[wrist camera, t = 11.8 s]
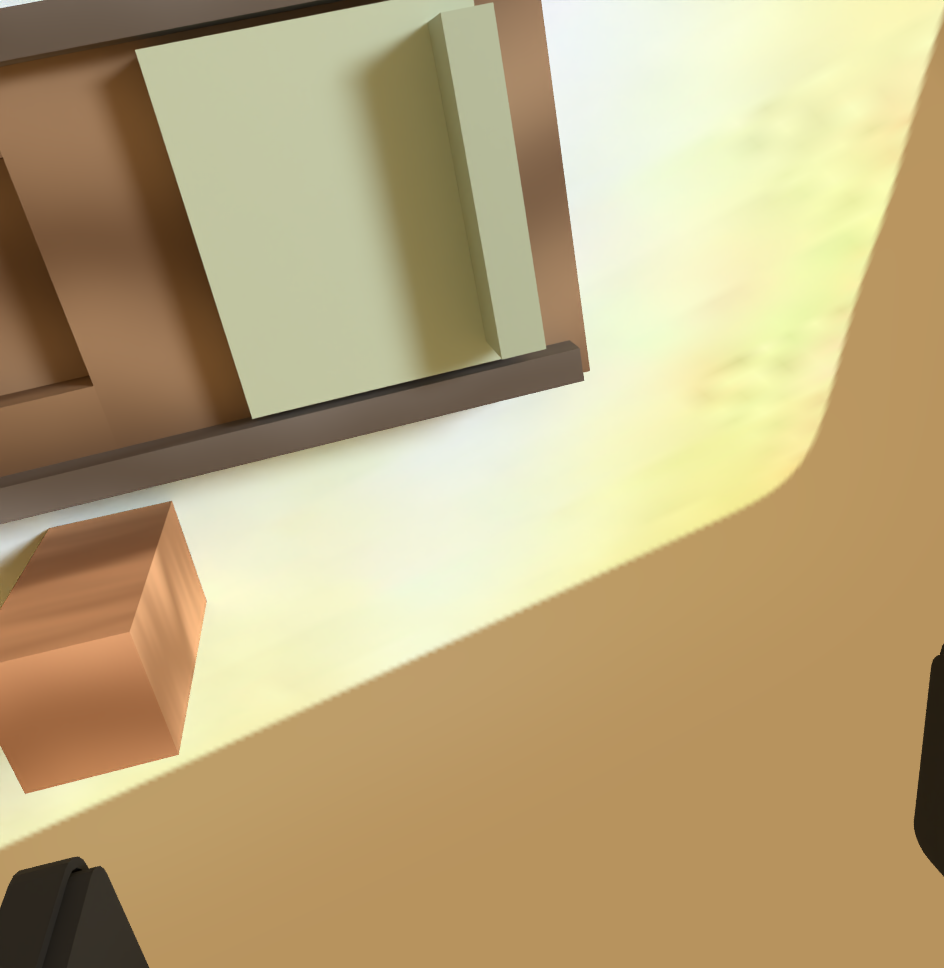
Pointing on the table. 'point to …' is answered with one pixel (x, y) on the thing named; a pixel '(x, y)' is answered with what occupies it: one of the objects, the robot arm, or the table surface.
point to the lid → (352, 195)
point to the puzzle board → (190, 265)
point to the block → (99, 648)
